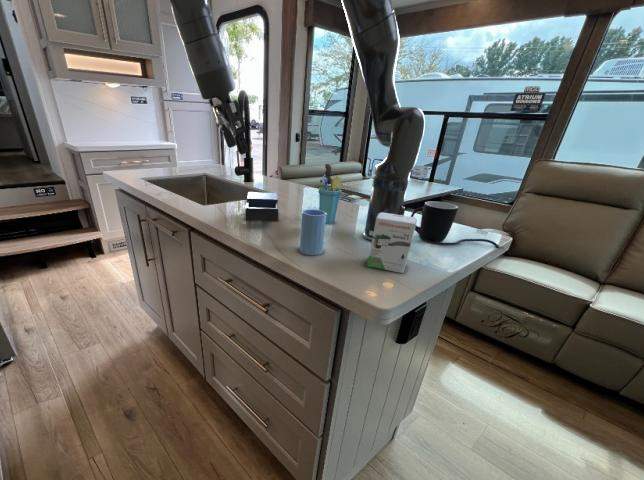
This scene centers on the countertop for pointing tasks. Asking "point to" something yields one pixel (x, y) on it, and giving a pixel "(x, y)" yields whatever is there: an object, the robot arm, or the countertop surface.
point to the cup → (330, 198)
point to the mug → (436, 220)
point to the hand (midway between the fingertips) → (238, 149)
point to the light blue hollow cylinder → (312, 232)
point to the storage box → (262, 206)
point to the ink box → (391, 242)
